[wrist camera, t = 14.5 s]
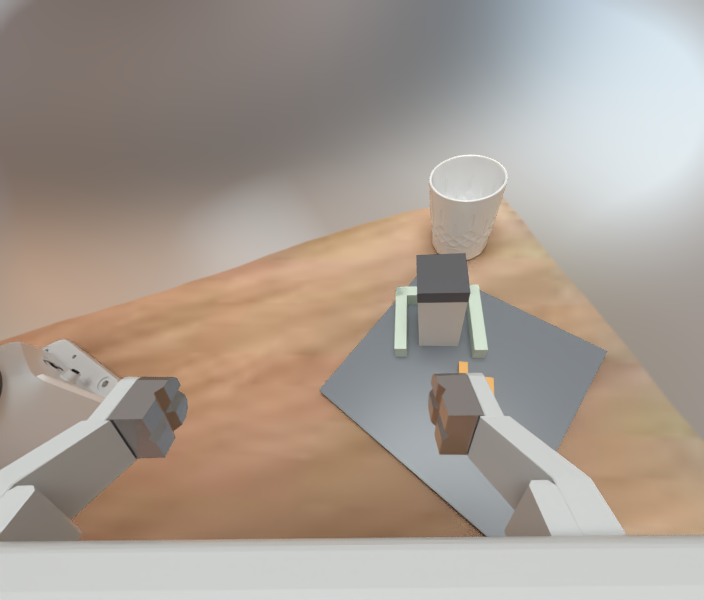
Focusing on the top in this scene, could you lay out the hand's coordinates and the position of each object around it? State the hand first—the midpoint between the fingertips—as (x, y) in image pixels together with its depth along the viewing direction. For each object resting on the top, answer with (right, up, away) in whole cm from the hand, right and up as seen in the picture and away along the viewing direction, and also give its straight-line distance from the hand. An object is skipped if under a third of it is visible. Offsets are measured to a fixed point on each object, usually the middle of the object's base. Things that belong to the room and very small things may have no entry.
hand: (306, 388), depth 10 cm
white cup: (+16, +10, +32) cm, 37 cm away
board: (+12, -5, +22) cm, 25 cm away
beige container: (+11, 0, +24) cm, 26 cm away
